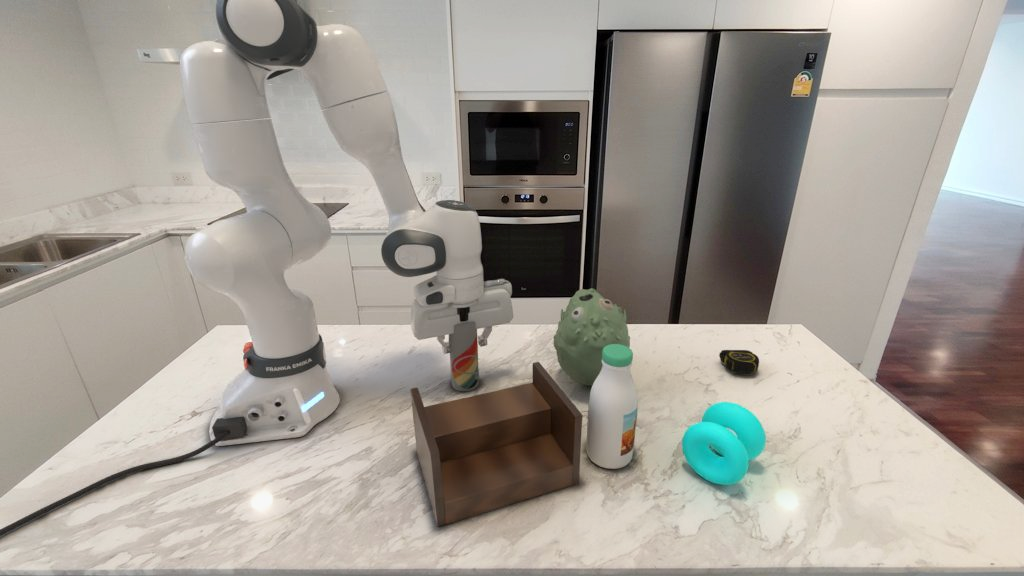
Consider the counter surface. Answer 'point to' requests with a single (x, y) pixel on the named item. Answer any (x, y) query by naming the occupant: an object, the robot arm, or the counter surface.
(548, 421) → the step rack
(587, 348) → the green monster figurine
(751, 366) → the tape measure
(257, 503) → the counter surface
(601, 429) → the milk bottle
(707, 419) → the turquoise yo-yo
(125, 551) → the counter surface
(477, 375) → the lotion bottle
